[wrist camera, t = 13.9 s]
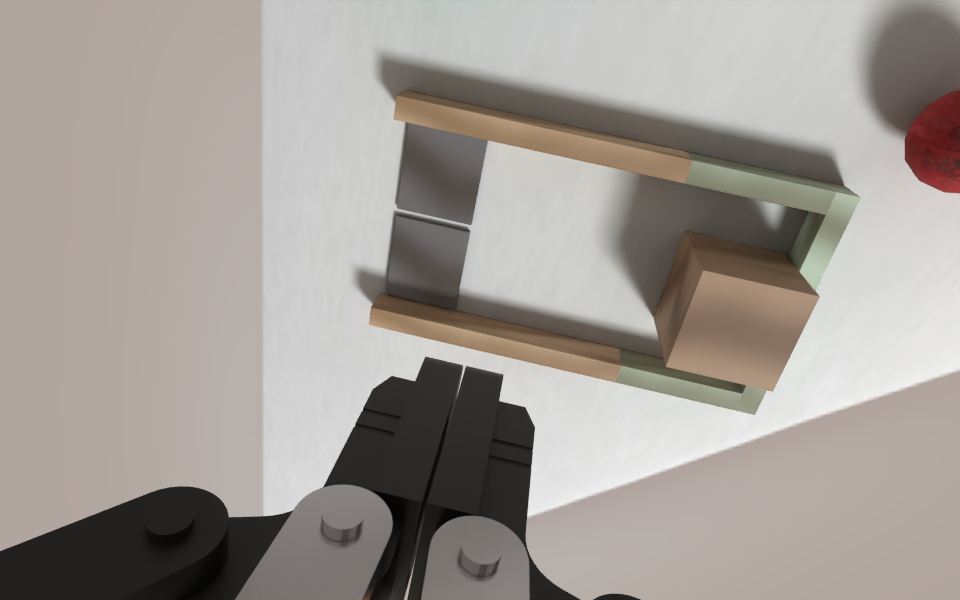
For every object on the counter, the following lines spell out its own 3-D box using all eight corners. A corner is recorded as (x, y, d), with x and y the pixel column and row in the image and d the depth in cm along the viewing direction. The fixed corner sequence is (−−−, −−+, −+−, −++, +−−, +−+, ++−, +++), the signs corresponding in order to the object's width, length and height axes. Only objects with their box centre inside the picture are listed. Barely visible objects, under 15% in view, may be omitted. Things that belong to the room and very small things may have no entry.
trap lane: (406, 90, 42) (396, 95, 40) (845, 186, 41) (860, 197, 39) (378, 309, 50) (368, 324, 47) (746, 395, 48) (754, 414, 46)
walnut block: (684, 230, 44) (703, 270, 37) (784, 252, 43) (819, 296, 37) (653, 317, 47) (665, 366, 41) (746, 338, 46) (772, 391, 40)
